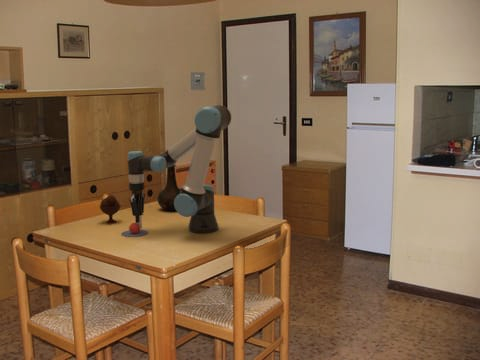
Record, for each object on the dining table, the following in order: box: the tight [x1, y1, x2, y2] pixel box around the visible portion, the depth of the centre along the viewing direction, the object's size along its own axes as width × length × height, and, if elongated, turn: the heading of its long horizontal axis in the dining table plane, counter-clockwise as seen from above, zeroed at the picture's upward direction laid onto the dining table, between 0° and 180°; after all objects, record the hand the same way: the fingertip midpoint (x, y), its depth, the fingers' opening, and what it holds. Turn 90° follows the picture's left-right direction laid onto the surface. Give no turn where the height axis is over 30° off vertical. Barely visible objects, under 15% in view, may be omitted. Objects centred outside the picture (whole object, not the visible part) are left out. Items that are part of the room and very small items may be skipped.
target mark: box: [120, 229, 149, 238], centre depth 283 cm, size 13×13×1 cm
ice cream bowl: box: [99, 194, 122, 224], centre depth 306 cm, size 11×11×15 cm
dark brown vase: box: [157, 164, 181, 212], centre depth 333 cm, size 18×18×28 cm
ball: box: [128, 222, 141, 234], centre depth 283 cm, size 6×6×6 cm
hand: (138, 228), depth 287 cm, fingers closed
